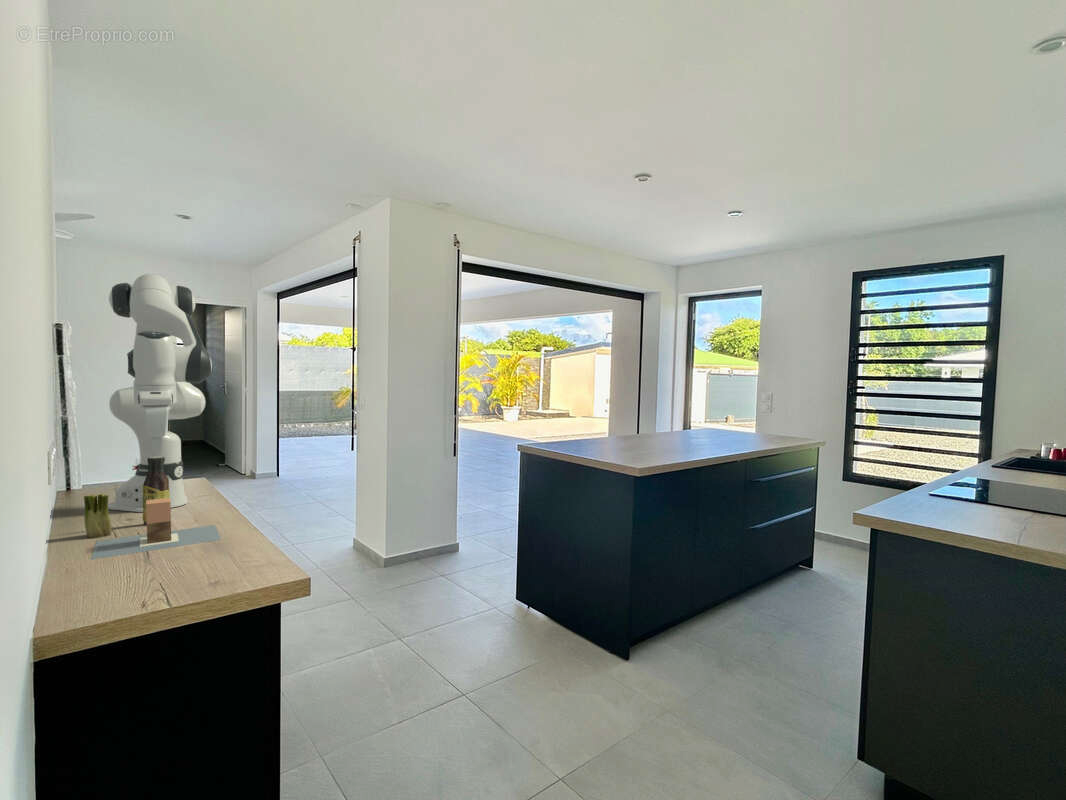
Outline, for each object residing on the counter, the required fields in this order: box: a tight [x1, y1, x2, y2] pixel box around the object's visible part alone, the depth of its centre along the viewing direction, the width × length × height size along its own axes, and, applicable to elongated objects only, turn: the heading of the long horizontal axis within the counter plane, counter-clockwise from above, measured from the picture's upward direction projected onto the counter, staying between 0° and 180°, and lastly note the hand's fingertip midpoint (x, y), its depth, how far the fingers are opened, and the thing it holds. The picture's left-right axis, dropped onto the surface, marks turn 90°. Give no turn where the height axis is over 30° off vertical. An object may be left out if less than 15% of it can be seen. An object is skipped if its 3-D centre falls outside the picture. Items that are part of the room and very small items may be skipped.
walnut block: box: [146, 520, 172, 544], centre depth 138 cm, size 5×5×5 cm
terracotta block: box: [146, 498, 172, 524], centre depth 137 cm, size 5×5×5 cm
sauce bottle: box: [142, 456, 169, 526], centre depth 154 cm, size 7×6×20 cm
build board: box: [90, 524, 222, 560], centre depth 138 cm, size 26×16×1 cm, turn 125°
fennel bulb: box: [83, 493, 112, 539], centre depth 141 cm, size 6×5×12 cm
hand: (156, 450), depth 137 cm, fingers open, 8 cm apart
